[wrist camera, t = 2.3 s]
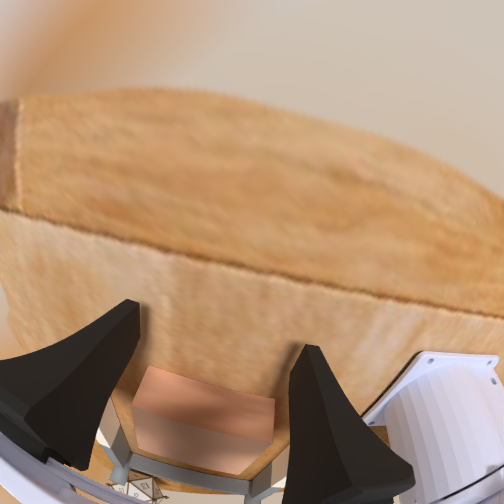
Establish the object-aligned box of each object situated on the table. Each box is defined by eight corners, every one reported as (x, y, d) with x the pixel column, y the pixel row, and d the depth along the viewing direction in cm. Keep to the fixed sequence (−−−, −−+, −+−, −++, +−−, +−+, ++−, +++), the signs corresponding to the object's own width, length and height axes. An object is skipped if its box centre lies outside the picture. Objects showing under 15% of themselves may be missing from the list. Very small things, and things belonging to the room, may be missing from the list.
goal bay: (287, 462, 21) (286, 505, 16) (260, 484, 26) (257, 516, 21) (105, 418, 20) (88, 457, 16) (121, 451, 25) (111, 481, 21)
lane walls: (328, 418, 16) (331, 454, 14) (283, 462, 21) (283, 487, 18) (88, 360, 16) (69, 390, 13) (109, 420, 20) (99, 443, 17)
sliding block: (275, 395, 16) (273, 442, 12) (243, 440, 19) (238, 474, 16) (150, 361, 15) (131, 405, 12) (150, 415, 19) (138, 448, 16)
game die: (160, 457, 32) (187, 508, 26) (127, 468, 32) (150, 516, 26) (122, 459, 25) (152, 521, 19) (89, 469, 25) (114, 525, 19)
